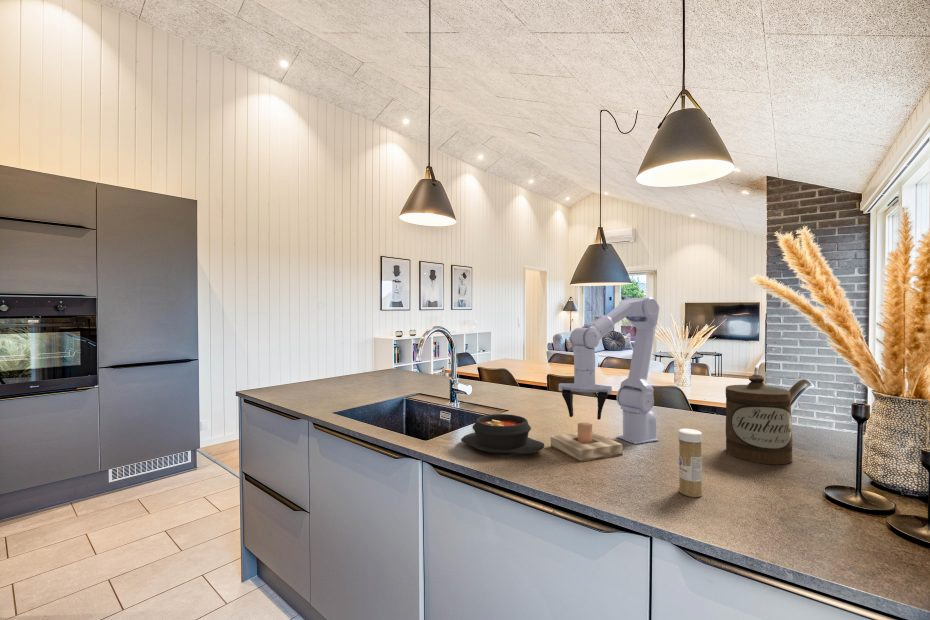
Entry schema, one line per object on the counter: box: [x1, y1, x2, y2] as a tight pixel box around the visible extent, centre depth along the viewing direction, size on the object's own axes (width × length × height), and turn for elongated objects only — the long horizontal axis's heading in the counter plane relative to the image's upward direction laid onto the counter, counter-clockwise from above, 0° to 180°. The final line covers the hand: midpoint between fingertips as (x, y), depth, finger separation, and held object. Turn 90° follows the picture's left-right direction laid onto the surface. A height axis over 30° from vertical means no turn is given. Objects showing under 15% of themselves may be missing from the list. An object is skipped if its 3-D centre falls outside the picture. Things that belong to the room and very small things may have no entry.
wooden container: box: [725, 373, 793, 465], centre depth 114 cm, size 15×15×22 cm
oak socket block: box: [550, 431, 624, 463], centre depth 118 cm, size 14×14×3 cm
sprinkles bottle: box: [677, 428, 703, 498], centre depth 90 cm, size 5×5×14 cm
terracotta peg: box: [577, 422, 593, 444], centre depth 118 cm, size 4×4×7 cm
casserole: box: [460, 413, 545, 455], centre depth 121 cm, size 25×19×8 cm
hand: (585, 417), depth 118 cm, fingers open, 7 cm apart
